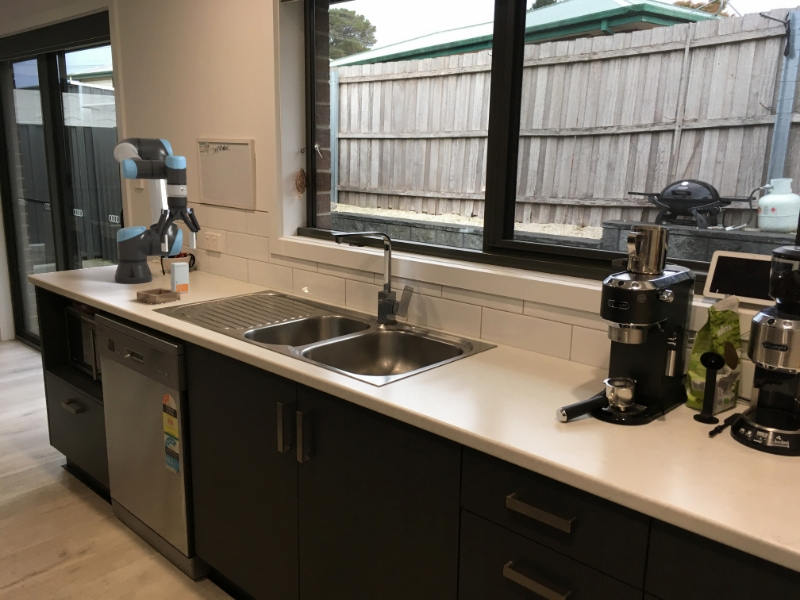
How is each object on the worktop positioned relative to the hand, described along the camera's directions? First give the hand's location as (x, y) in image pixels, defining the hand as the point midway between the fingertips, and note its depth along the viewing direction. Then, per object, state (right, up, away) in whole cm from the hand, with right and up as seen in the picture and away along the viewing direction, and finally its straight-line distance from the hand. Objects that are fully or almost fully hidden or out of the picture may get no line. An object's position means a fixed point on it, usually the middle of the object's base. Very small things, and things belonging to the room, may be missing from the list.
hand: (179, 249), depth 255 cm
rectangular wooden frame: (-4, -20, -12) cm, 24 cm away
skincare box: (-1, -17, +4) cm, 18 cm away
